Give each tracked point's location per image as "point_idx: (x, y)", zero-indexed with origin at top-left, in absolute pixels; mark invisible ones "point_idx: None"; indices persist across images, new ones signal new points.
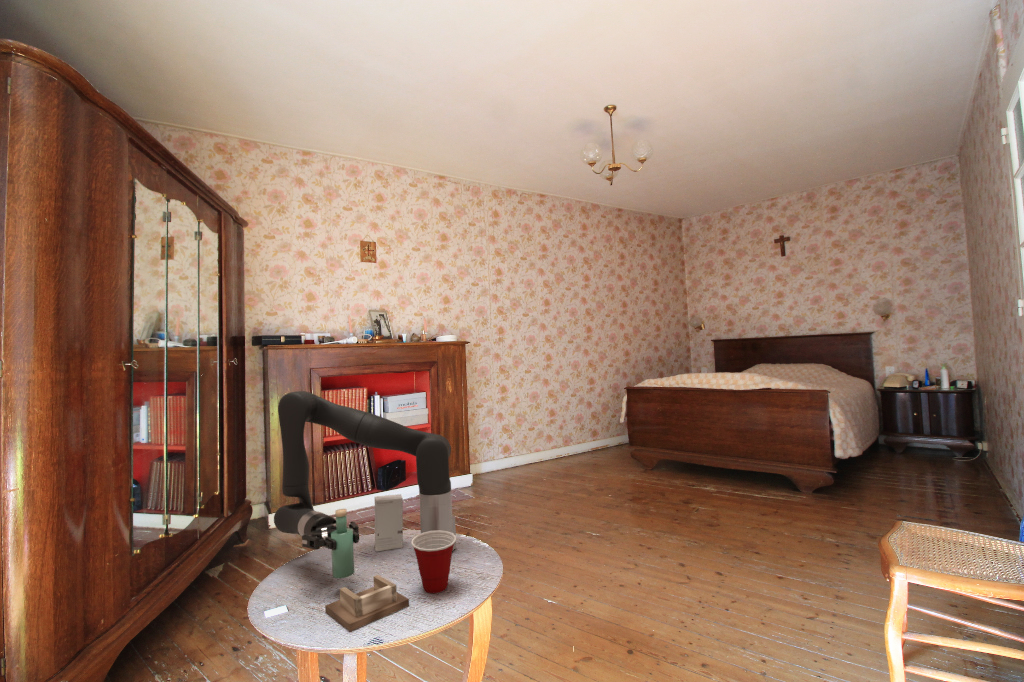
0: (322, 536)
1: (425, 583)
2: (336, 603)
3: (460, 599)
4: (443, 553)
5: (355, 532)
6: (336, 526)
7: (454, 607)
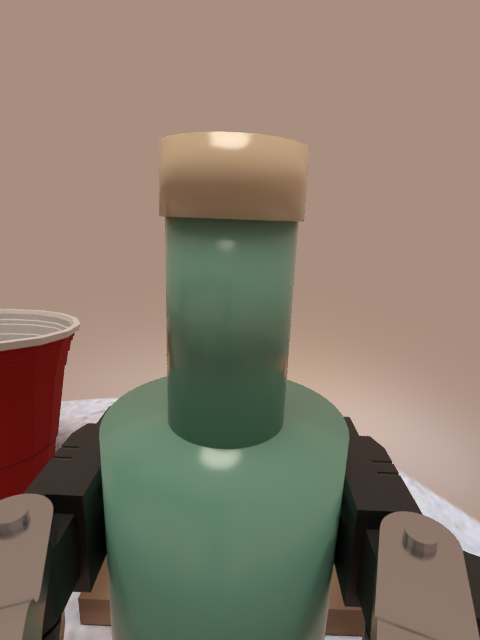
0: (468, 594)
1: (53, 451)
2: (337, 586)
3: (62, 418)
4: (38, 333)
5: (47, 472)
6: (288, 349)
7: (103, 410)
